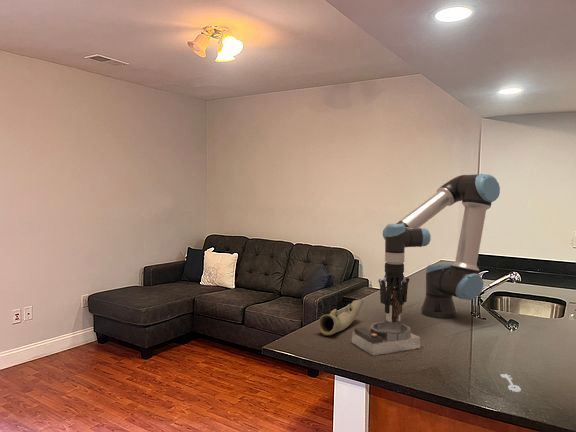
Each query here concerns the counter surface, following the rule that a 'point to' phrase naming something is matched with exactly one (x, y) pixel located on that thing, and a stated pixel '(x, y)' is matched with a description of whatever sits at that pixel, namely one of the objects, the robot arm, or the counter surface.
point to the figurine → (395, 305)
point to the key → (511, 383)
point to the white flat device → (385, 338)
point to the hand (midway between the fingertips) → (393, 320)
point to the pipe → (339, 318)
